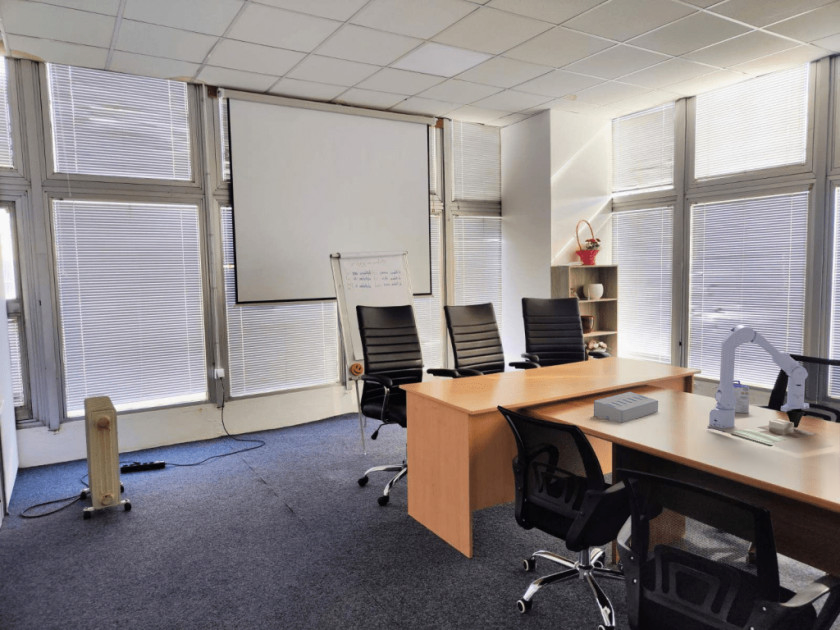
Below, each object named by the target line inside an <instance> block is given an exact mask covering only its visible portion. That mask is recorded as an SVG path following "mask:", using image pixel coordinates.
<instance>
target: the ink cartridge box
mask: <svg viewBox="0 0 840 630" xmlns="http://www.w3.org/2000/svg"><path fill="white" fill-rule="evenodd" d="M733 387H734V392H735V393H734V395H735V398H736V400H737V403H736V405H735V413H740V414H742V413H743V414H744V413H746V414H748V413H749V410H750V409H749V408H750V387H749V386H748V385H745V384H744V385H743V384H742V385H741V381H740V380H735V379H734V381H733Z"/></svg>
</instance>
